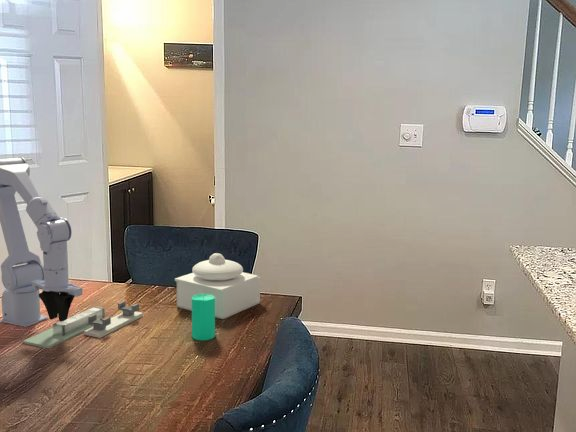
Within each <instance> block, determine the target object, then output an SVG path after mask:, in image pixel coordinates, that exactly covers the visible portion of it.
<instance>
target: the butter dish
mask: <svg viewBox="0 0 576 432" xmlns="http://www.w3.org/2000/svg"><path fill="white" fill-rule="evenodd" d="M191 269H192V272H191V273H188V274H184V275H181V276H178V277H175V278H174V282H176V307H177V308H180V309H184V310H187V311H191V312H192V296H194V295H197V294H203V291H204V294H206V295H213V296H214V297H215V318H218V319H221V320H224V319H227V318H229V317H231V316H233V315H236V314H238V313H240V312H242V311H243V312H244V311H245V310H247V309H249V308H253V307H254V306H256V305H258V304H260V303H261V302H260V301H261V277H260V276H259V275H257V274H252V273H249V272H244V267H243V266H242V265H241V264H240V263H239V262H236V261H233V260H230V259H225V257H224V256H223V254H221V253H218V252H216V253H213V254H211V255H210V256H209V258H208V259H206V260H202V261H200V262H198V263H196V264H195V265H194V266H192V268H191Z"/></svg>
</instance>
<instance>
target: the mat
mask: <svg viewBox="0 0 576 432" xmlns="http://www.w3.org/2000/svg"><path fill="white" fill-rule="evenodd" d="M91 327H93V324H88V325H86V326H83V327H81V328H79V329H77V330H75V331H73V332H70V333H68V334H66V335H64V336H60V335H55V334H53V327H51V328H49V329H46V330H44V331H42V332H40V333H37V334H35V335H32V336H31V337H28V338H26V339H24V340H22V343H23V344H25V345H29V346H34V347H39V348H43V349H48V350H49V349H51V348H53V347H55V346H57V345H59V344H61V343H63V342H66V341H68V340H70V339H72V338H73V337H76V336H79V335H80V334H82V333H84V331H85V330H87V329H89V328H91Z"/></svg>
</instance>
